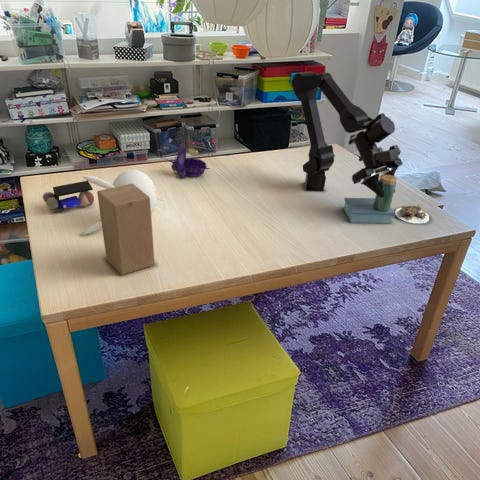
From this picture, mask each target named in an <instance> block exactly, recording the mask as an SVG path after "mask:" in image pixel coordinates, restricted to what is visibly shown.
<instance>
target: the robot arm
mask: <svg viewBox="0 0 480 480" xmlns="http://www.w3.org/2000/svg"><path fill="white" fill-rule="evenodd" d="M291 87H292V90H293V93H294V95H295V97H296V98H297V99H298V100H299V102H300V103H301V107H302V112H303V116H304V120H305V124H306V125H305V126H306V130H307V134H308V138H309V143H310V148H309V151H308V160H307V161H306V162H305V163H304V164H302V171H303V173H305V179H304V182H303V187H304V188H305V190H306V191H309V192H310V191H313V192H324V191H325V186H326V179H327V176H326V172H328V171H329V170H330V169H331V168H332V166H333V164H334V163H335V157H336V155H335V153H334V147H333V145H332V144H330V145H329V144H328V143H327V142H326V139H325V135H324V131H323V126H322V122H321V117H320V112H319V108H318V102H317V95H318V92H319V90H320V91H321V92H322V94H323V95H324V96H325V97H326V99H327V100H328V102H329V103H330V105H332V107H333V108H334V109H335V111H336V112H337V114H338V116H339V122H340V124H341V126H342V128H343V130H344V131H345V132H346V133H348V134H351V135H350V137H349V141H348V143H347V144H348V145H353V144H355V147H356V149H357V151H358V154H359V158H358V162H362V163H363V165H364V167H363V168H361V169H359V170H358V171H356V172H355V173H354V174H352V176H351V181H352V183H353V184H354V185H356V184H359V183H360V184H361V185H364V186H365V187H366V188H368V189H369V190H370V191H372V192H373V193H374V194H375V195H376V194H377V195H378V196H379V197H381V198H382V197H384V194H383V191H382V188H381V185H380V183H379V179H380V177H381V175H392V176H395V173H396V172H397V170H398V168H399V167H401V166H402V165H403V161H402V159H401V158H400V157H399V156H400V154H401V153H402V152H401V149H400V147H399V145H398V144H394V145H391V146H389V149H386V150H383V148H382V146H380V147H378V145H377V144H379V143H382V141H384V140H385V139H386V138H388V137H389V136H391V135H392V134H393V133H395V130H396V126H395V123H394V121H392V119H391V118H390V117H388V116H386V114H385V113H384V112H382V113H379V114H377V115H376V116H375V118H371V117H370V116H368V114H367V112H365V111H364V110H363V108H361V107H359V106H357V105H356V104H354V103H353V102H352V101H351V100H350V99H349V98H348V97H347V96H346V95H347V94H345V93H344V91H343V90H342V88H341V87H340V86H339V85H338V83H336V81H335V80H334V78H333V76H332V74H331V73H330V72H320V73H315V72H314V71H311V70H310V71H305V72H298V73H295V74H294V75H293V76H292V80H291ZM357 132H358V133H357ZM353 133H357V134H353ZM380 174H381V175H380ZM395 193H396V189H395V190H394V194H395Z"/></svg>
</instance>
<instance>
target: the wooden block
mask: <svg viewBox="0 0 480 480" xmlns="http://www.w3.org/2000/svg"><path fill="white" fill-rule="evenodd" d="M97 202H98V207H99V209H98V210H99V216H100V220H101V223H102V227H101V230H102V237H103V245H104V252H105V258H106V260H107V261H108V262H109V264H111V266H113V268H114V269H115V270H116V271H117V272H118V273H119V274H120V275H121V276H123V275H127V274H130V273H133V272H136V271H140V270H144V269H146V268H151V267H153V266H155V264H156V263H155V252H154V251H155V250H154V248H155V247H154V238H153V237H154V235H153V223H152V222H153V221H152V216H151V205H150V197H149V196H148V195H146V194H145V193H144V192H143V191H141V190H140V189H139V188H138V187H136V186H135V185H134V184H128V185H123V186H118V187H114V188H109V189H106V188H104V189H100V190H97Z"/></svg>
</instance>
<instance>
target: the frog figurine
mask: <svg viewBox="0 0 480 480" xmlns="http://www.w3.org/2000/svg"><path fill="white" fill-rule="evenodd" d="M394 215H395V217H396V218H397V219H398V220H401V221H403V222H406V223H409V224H419V225H421V224H422V225H423V224H427V223H429V221H430V215H429V213H428V212H426V211H423V209H422V207H421V205H419V204H417V205H407V206H405V205H403V206H400V207H397V208H396V209H395V211H394Z"/></svg>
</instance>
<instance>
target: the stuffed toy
mask: <svg viewBox="0 0 480 480" xmlns="http://www.w3.org/2000/svg"><path fill="white" fill-rule="evenodd" d="M81 177H82V178H83V179H85V181H88V182H89V183H90V184H93V185H96V186H98V187H101V188H104V189H109V188H114V187H118V186H123V185H128V184H134V185H135V186H136V187H138V188H139V189H140V190H141V191H143V192H144V193H145V194H146V195H148V196H149V197H150V205H151V217H152V215H153V214H154V212H155V210H156V206H157V201H163V197H160V198H157V197H158V194H157V190H156V187H155V184H154V182H153V180H152V179H151V177H149V175H147V173H145V172H143V171H142V170H138V169H127V170H124V171H123V172H121V173H119V174H118V175H117V176H116V178H114V180H113V181H112V183H110V182H108V181H106V180H104V179H102V178H100V177H98V176H94V175H86V174H85V175H81ZM99 229H102V223H101V219H100V220H99V221H98V222H95V223H94V224H92V225H91V226H90V227H88V228H87V229H86V230H85V231H84V233H82V236H84V235H90V234H93V233H94V232H97V231H98V230H99Z"/></svg>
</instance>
